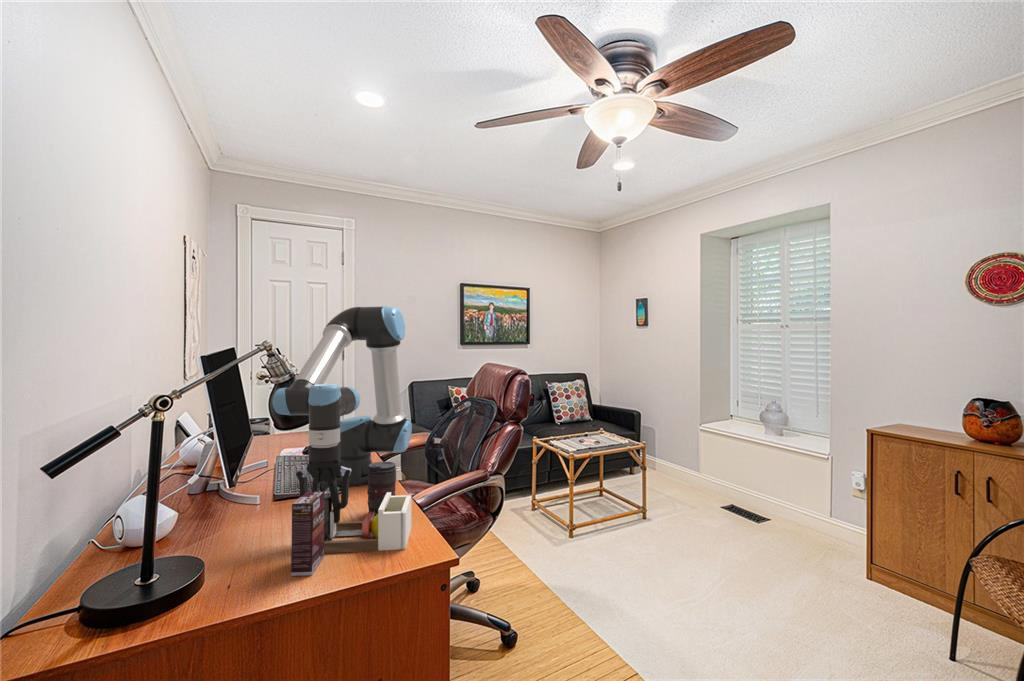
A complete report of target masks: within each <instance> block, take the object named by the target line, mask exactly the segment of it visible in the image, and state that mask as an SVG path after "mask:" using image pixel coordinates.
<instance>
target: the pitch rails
mask: <svg viewBox="0 0 1024 681" xmlns="http://www.w3.org/2000/svg"><path fill="white" fill-rule="evenodd" d="M363 521H364V520H358V521H357V520H355V521H351V520H350V521H339V522H338V523H336V531H339V530H361V529H362V523H363ZM342 540H343V541H324V554H333V553H334V554H337V553H338V554H339V553H356V552H357V553H359V552H375V551H376V552H378V539H376V538H371V539H364V540H350V539H342Z"/></svg>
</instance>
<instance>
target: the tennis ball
mask: <svg viewBox="0 0 1024 681" xmlns="http://www.w3.org/2000/svg"><path fill="white" fill-rule="evenodd" d="M384 512H389V511H384ZM371 532H372V534H373V536H372V537H374V539H378V514H377V515H376V516H375V517H374V519H373V520H372V523H371Z"/></svg>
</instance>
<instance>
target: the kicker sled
mask: <svg viewBox="0 0 1024 681" xmlns="http://www.w3.org/2000/svg"><path fill="white" fill-rule="evenodd" d="M332 509H333V505H332V500H331V495H324V541H343V540H344V539H333V538H330V512H331V511H332ZM373 519H374V512H369V511H368V512H367V514H366V515H365V518H364V520H362V521H363V523H362V529H361V530H339V531H336V534H335V536H334V537H348V536H361V538H355V539H354V538H353V539H352V538H351V539H349V540H364V539H373V537H374V536H373V534H372V532H371V523H372V520H373Z"/></svg>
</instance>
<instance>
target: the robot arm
mask: <svg viewBox="0 0 1024 681" xmlns="http://www.w3.org/2000/svg"><path fill="white" fill-rule="evenodd" d="M405 323H406V322H405V319H404V316H403V314H402V312H401V310H400V309H399V308H397V307H394V306H354V307H349V308H346V309H345V310H343V311H341V312H339V313H337V315H336V316H334V317H333V318H332V319H331V320H330V321H329V322H327V324H326V325H325V327H324V328H323V331H322V337H321V339H320V341H319V342H318V344H317V345H316V347H315V348H314V350H313V352H312V353H311V354H310V356H309V357H308V358H307V360H306V362H305V364H304V365H303V366H302V368H301V369H300V371H299V373H298V374H297V376H296V377H295V379H294V381H293V382H292V383H291V385H290V386H289V387H286V386H285V387H282V388H281V387H280V388H278V389H277V390H275V392H274V394H273V397H272V407H273V409H274V412H276V414H278V415H283V416H284V415H285V416H308V445H309V447H308V463H307V466H306V467H304V468H300V469H299V470H298V471H297V472H296V473H295V475H296V478H297V480H298V486H299V487H298V488H299V498H300V497H302V496H303V495H304V494H305V493H306V492H309V489H308V488H309V486H308V485H309V484H308V475H310V476H311V478H312V484H311V485H312V488H311V492H320V487H321V483H322V482H326V483H327V486H328V489H329V494H330V495H329V496H331V500H332V511H331V512H330V538H332V539H333V538H335V537H336V536H335V534H336V523H338V522H341V521H340V520H341V510H343V509H345V508H346V507H347V505H348V502H349V488H350V487H352V486H361V485H365V484H368V469H369V465H370V464H371V463H373V460H372V453H389V454H390V453H392V454H395V453H403V452H405V451H407V450H408V447H409V444H410V442H411V439H412V432H413V424H412V421H411V420H409V419H407V416H406V413H405V412H403V411H402V406H401V405H402V404H401V393H400V378H399V367H398V366H399V365H398V364H399V363H398V355H397V354H398V352H397V349H398V348H399V346H400V345H401V341H403V340H404V339H405V336H406V324H405ZM354 341H365V345H366V348H368V349H369V350H370V351H371V360H372V361H371V362H372V363H371V364H372V371H373V372H372V373H373V383H374V384H373V385H374V395H375V407H376V414H375V415H374V416H373V418H372V417H371V416H370V415H359V416H353V417H349V418H345V419H342V420H341V417H343V416H345V415H349V414H351V413H353V412H354V411H355V410H357V409H358V408H359V406H360V403H361V397H360V394H359V392H358V391H357V390H356V389H355V388H353V387H350V386H340V385H339V384H336V383H325V381H326V380H327V378H328V377H329V375H330V373H331V371H332V370H333V368H334V366H335V365H336V363H337V361H338V359H339V358H340V356H341V354H342V352H343V351H344V349H345V348H347V347H349V346H350V345H351V343H352V342H354ZM337 484H339V485H337ZM340 485H342V486H341V490H340V491H341V495H339V490H338V489H339V488H338V486H340Z"/></svg>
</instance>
